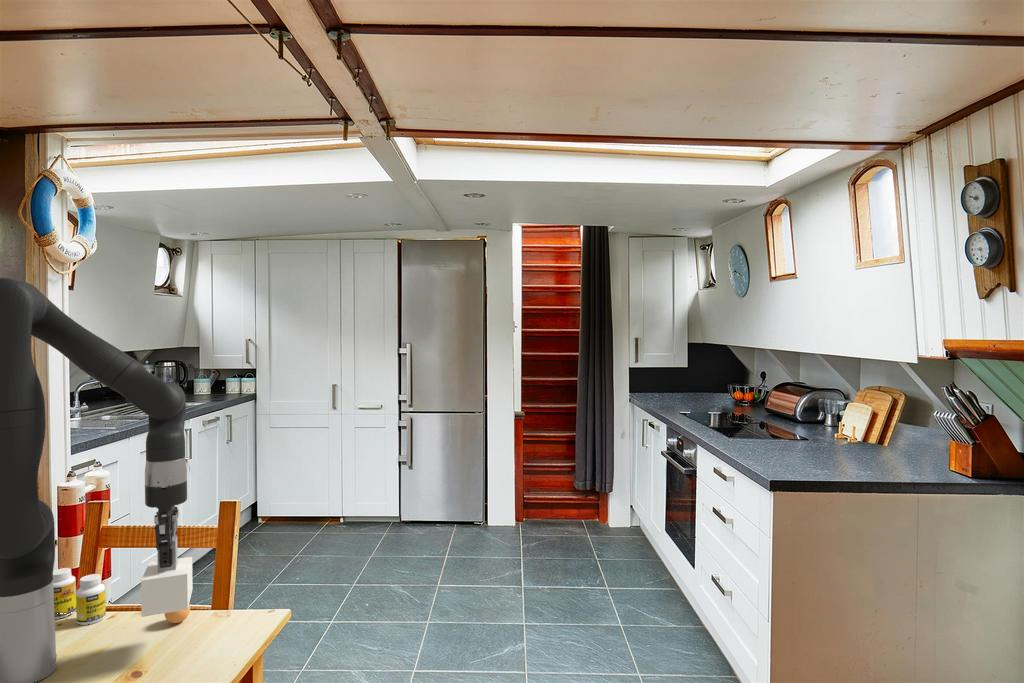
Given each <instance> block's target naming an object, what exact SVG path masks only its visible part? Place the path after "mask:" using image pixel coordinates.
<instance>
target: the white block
mask: <svg viewBox="0 0 1024 683" xmlns="http://www.w3.org/2000/svg"><path fill="white" fill-rule="evenodd" d="M167 542H168V541H167V540H164V541H162V543H167ZM178 554H179V553H178V535H175V536H173V547H172V566H171V567H167V568H160V563H159V550H157V561H156V560H155V561H150V562H148V565H147V567H146V568H145V571H144V573H143V576H142V577H141V580H140V594H141V595H140V596H141V597H140V599H141V602H140V603H141V605H140V606H141V607H140V608H141V610H140V611H141V618H143V617H148V616H157V615H161V614H164V613H169V612H175V611H181V610H187V609H188V606H189V605H190V602H191V601H190V600H191V597H192V594H193V590H194V589H193V556H187V557H180V558H179V557H178Z"/></svg>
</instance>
